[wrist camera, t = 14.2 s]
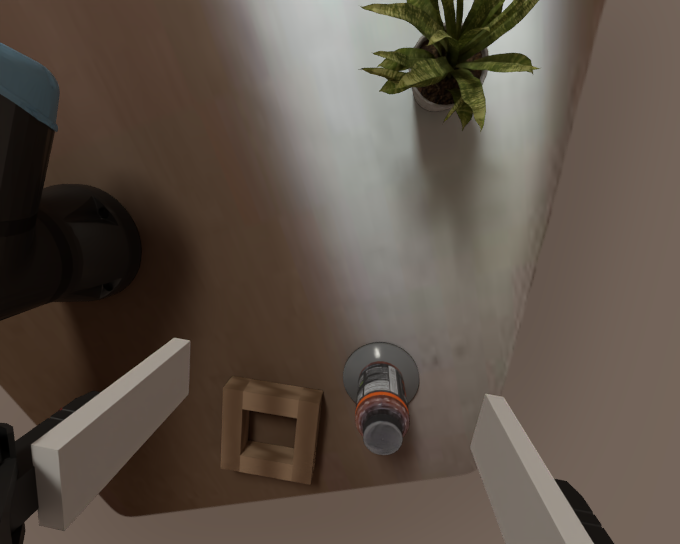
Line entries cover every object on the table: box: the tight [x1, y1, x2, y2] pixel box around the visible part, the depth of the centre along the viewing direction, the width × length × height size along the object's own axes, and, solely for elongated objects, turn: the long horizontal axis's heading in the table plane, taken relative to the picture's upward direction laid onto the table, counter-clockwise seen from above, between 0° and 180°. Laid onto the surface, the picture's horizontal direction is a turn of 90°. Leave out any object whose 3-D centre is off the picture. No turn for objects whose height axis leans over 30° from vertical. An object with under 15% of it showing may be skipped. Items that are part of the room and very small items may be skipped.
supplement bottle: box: [355, 361, 410, 455], centre depth 40 cm, size 6×6×11 cm
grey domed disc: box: [343, 342, 419, 403], centre depth 45 cm, size 10×10×1 cm
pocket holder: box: [221, 376, 323, 485], centre depth 48 cm, size 13×13×3 cm
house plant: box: [359, 0, 540, 132], centre depth 29 cm, size 14×14×16 cm
